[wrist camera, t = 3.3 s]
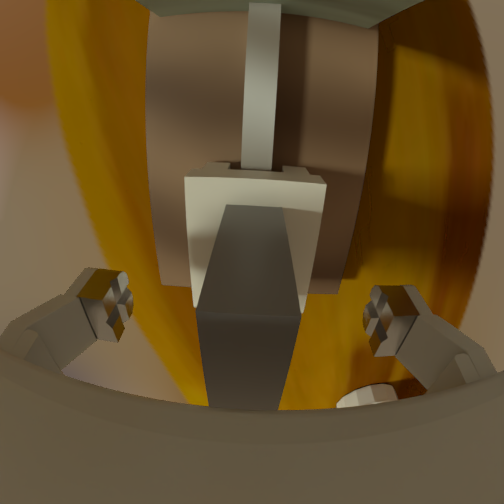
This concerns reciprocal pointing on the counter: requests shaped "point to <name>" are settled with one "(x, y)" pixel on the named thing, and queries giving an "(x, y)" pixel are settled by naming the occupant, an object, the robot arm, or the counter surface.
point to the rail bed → (261, 107)
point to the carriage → (250, 275)
